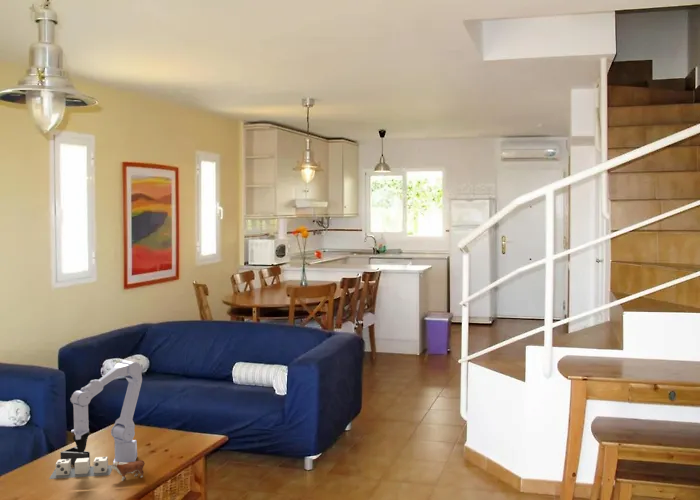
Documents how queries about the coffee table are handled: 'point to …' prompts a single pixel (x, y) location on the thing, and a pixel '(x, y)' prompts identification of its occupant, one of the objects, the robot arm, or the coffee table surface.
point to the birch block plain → (82, 466)
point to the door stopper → (74, 455)
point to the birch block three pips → (63, 467)
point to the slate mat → (72, 474)
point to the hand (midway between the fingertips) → (81, 451)
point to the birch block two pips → (100, 464)
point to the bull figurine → (129, 468)
